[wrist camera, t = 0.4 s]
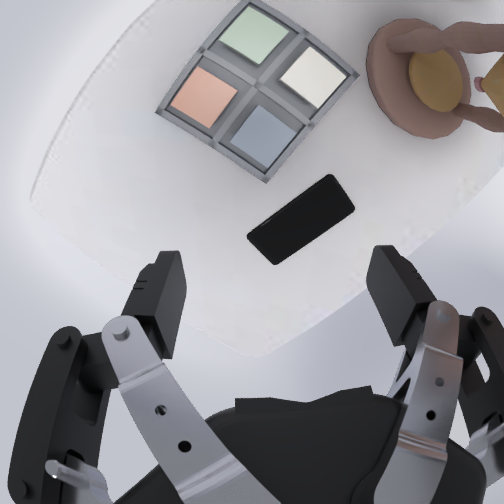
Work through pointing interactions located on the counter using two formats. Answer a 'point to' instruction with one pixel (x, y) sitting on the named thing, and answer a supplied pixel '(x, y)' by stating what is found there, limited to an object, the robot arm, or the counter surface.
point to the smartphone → (302, 220)
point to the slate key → (262, 136)
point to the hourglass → (435, 75)
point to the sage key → (253, 35)
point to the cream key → (312, 77)
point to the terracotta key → (204, 97)
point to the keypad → (256, 89)
